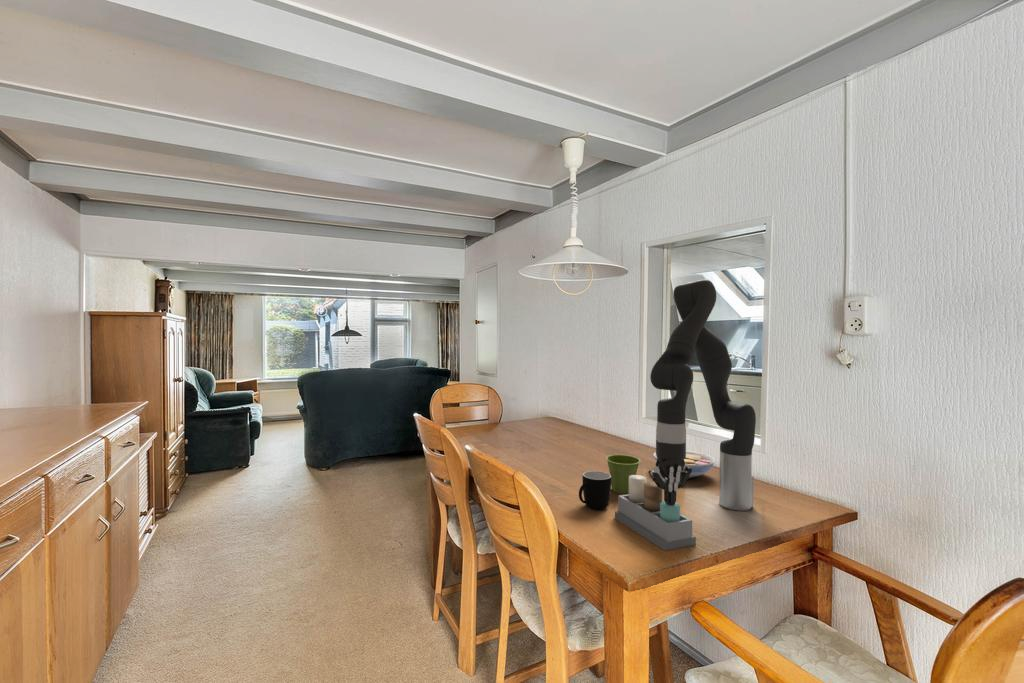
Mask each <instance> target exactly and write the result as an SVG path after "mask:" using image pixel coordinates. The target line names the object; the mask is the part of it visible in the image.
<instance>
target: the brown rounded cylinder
mask: <svg viewBox="0 0 1024 683" xmlns="http://www.w3.org/2000/svg"><path fill="white" fill-rule="evenodd" d="M662 501H663V489H661V488H659V487H658V486H657V485H656V484H655V482H654V481H653V482H652V481H646V483H644V509H646V510H648V511H653V512H658V511H660V502H662Z"/></svg>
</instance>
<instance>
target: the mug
mask: <svg viewBox="0 0 1024 683" xmlns="http://www.w3.org/2000/svg"><path fill="white" fill-rule="evenodd" d="M611 491H612V486H611V475H610V473H609V472H605V471H600V470H588V471H584V472H583V473H582V484H581V486H580V488H579V490H578V499H579V501H580V502H581V503H582V504H585V506H586V507H587V509H589V510H592V511H603V510H606V509H608V506H609V503H610V499H611Z"/></svg>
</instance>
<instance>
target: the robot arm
mask: <svg viewBox="0 0 1024 683" xmlns="http://www.w3.org/2000/svg"><path fill="white" fill-rule="evenodd" d="M673 300H674V304H675V307H676V310H677V312H678V314H679V316H680V319H681V320H682V321H681V322H680V323H679V324H678V325H677V326H676V328H674V329H673V330H672V333H671V334H670V336H669V337H670V338H669V340H668V342H667V346H666V348H665V351H663V353H662V354H661V355H660V357H659V358H658V360H656V362H655V363H654V364H653V367H652V368H651V371H650V375H649V376H650V379H649V380H650V383H651V384H652V386H653V387H654V388H655V389H657V390H663V391H676V393H675V395H674V396H673V397H671V398H663V399H659V401H658V402H657V408H656V409H657V411H656V412H657V413H656V414H657V415H656V428H655V452H656V456H657V461H655V467H654V468H653V469H652V470H651V469H649V470H648V475H649V476H650V478H651V479H652V481H653V482H655V484H656V485H657V486H658V487H659V488H661V489H662V491H663V501H665V503H666V504H668V505H675V502H676V503H677V492H678V490H679V489H682V488H683V487H684V486H685V484H686V482H687V481H688V479H689V478H688V477H689V475H690V474H691V472H692V469H691V468H689V467H687V466H686V465H685V461H684V458H685V457H686V450H687V428H686V407H687V402H688V398H689V394H690V391H691V389H692V386H693V381H694V372H693V369H692V368H691V367H690V366H689V365H688V364H690V362H691V361H692V359H693V355H694V354H695V357H696V361H697V363H698V366H699V369H700V371H701V374H702V376H703V379H704V382H705V383H704V384H705V386H706V389H707V392H708V396H709V401H710V404H711V410H712V413H713V417H714V420H715V423H716V424H717V425H718V426H719V427H720V428H722V429H724V430H728V431H732V432H733V435H732V436H733V437H732V438H731V439H727V440H722V441H721V442H720V444H719V486H718V487H719V489H718V490H719V493H718V494H719V495H718V496H719V497H718V504H719V505H721V507H723V508H725V509H729V510H733V511H740V512H741V511H749V510H751V508H754V497H755V496H754V495H755V494H754V489H755V488H754V487H755V486H754V485H755V484H754V483H755V479H754V477H753V476H752V474H753V473H752V471H753V469H752V468H753V467H752V466H753V465H752V464H753V462H752V461H753V458H752V457H753V448H754V445H755V437H756V436H755V435H756V425H757V424H756V421H757V419H756V418H757V416H756V411H755V408H754V407H753V406H752V405H751V404H748V403H743V402H738V401H737V402H736V401H732V400H731V398H730V395H729V392H728V388H727V385H728V384H727V383H728V381H729V378H730V376H731V373H732V369H733V368H732V367H733V365H732V364H733V363H732V359H731V357H730V354H729V350H728V347H727V346H726V344H725V343H724V342H723V340H722V339H721V338H720V337H719V336H717V334H715V333H714V332H712V331H711V330H710V329H709V328H708V327H707V326H705V324H706V323H707V321H708V319H709V317H710V315H711V314H712V311H713V309H714V307H715V305H716V302H717V290H716V287H715V285H714V283H713V282H712V281H711V280H709V279H705V278H704V279H698V280H694V281H689V282H685V283H682V284H678V285H676V286H675V287H674V289H673Z"/></svg>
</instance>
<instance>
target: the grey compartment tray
mask: <svg viewBox="0 0 1024 683" xmlns="http://www.w3.org/2000/svg"><path fill="white" fill-rule="evenodd" d="M617 500H618V501H617V502H618V505H617V508H618V510H614V518H615V520H617V521H619V522H620V523H622V524H624V525H625V526H626V527H628V528H630V529H631V530H632V531H634V532H636V533H637V534H639V535H640V536H642V538H645V539H646V540H648V541H649V542H651V543H652V544H653V545H655V546H657V547H658V548H659V549H661V550H663V551H664V552H665V551H671V550H675V549H680V548H684V547H690V546H695V545H697V544H696V541H697V538H696V536H695V535H693V519H691V518H689V517H688V516H685V515H683V514H682V513H680V521H676V522H670V523H668V522H666V521H665V520H663V519H661V518H660V511H658V512H653V511H648V510H646V509H644V502H642V503H637V502H632V501H630V500H629V494H627V493H626V494H620V495H618V496H617Z"/></svg>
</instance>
